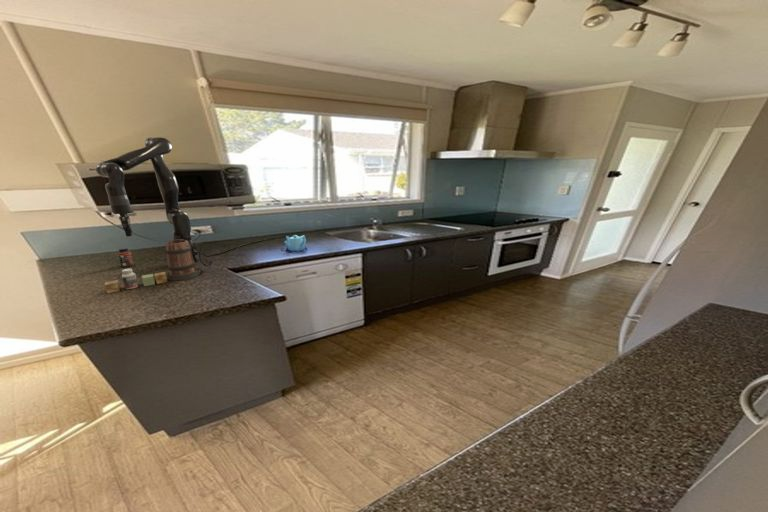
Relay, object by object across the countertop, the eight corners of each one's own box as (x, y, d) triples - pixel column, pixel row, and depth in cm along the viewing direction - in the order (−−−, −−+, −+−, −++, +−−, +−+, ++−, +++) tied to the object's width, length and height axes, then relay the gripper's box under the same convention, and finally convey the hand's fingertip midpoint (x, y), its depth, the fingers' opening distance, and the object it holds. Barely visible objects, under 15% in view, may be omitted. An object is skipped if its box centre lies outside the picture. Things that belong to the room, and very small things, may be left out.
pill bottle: (124, 287, 148) (118, 269, 145) (137, 284, 152) (132, 267, 149) (126, 290, 144) (121, 272, 141) (139, 287, 148) (135, 269, 145)
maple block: (166, 279, 159) (165, 271, 157) (167, 281, 155) (165, 274, 154) (156, 281, 156) (154, 273, 154) (156, 284, 152) (154, 276, 151)
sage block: (154, 281, 155) (152, 273, 154) (155, 284, 152) (153, 276, 151) (144, 283, 153) (141, 275, 151) (144, 286, 149) (141, 278, 148)
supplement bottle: (126, 267, 174) (121, 250, 170) (118, 266, 175) (113, 249, 171) (136, 264, 180) (131, 247, 176) (128, 263, 181) (124, 246, 177)
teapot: (306, 251, 211) (305, 237, 208) (285, 252, 208) (283, 238, 204) (306, 245, 225) (306, 232, 222) (287, 246, 222) (285, 233, 219)
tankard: (167, 282, 154) (159, 247, 148) (164, 273, 166) (156, 240, 160) (216, 272, 169) (210, 240, 163) (209, 265, 181) (204, 234, 174)
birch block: (120, 288, 147) (117, 279, 145) (119, 291, 144) (117, 282, 142) (108, 290, 144) (105, 282, 143) (107, 293, 141) (104, 285, 139)
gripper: (129, 204, 143) (138, 236, 148) (129, 201, 153) (138, 230, 158) (109, 206, 138) (119, 238, 143) (110, 202, 148) (120, 232, 154)
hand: (129, 234), depth 151 cm, fingers open, 8 cm apart
